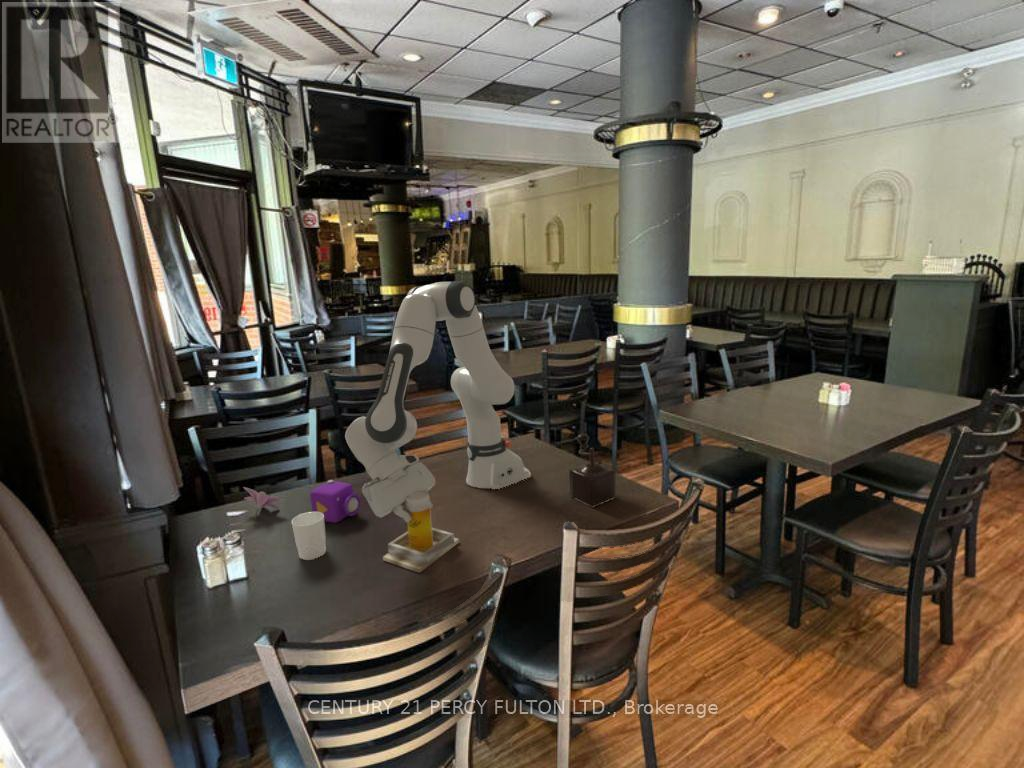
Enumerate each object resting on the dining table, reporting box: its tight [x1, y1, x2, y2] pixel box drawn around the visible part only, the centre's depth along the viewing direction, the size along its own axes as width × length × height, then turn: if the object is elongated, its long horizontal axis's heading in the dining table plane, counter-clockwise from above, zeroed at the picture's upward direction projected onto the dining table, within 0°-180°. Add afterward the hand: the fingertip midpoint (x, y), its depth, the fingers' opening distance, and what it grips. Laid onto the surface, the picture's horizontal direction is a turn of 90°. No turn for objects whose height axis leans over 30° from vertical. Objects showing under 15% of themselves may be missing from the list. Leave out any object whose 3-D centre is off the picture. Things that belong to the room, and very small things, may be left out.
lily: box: [242, 486, 284, 521], centre depth 160 cm, size 12×12×10 cm
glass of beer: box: [405, 490, 433, 553], centre depth 134 cm, size 6×6×15 cm
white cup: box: [290, 511, 327, 561], centre depth 136 cm, size 8×8×10 cm
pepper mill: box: [568, 433, 617, 506], centre depth 163 cm, size 16×11×18 cm
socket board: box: [382, 527, 460, 574], centre depth 136 cm, size 12×16×4 cm
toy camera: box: [309, 479, 361, 524], centre depth 156 cm, size 11×14×10 cm
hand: (420, 514), depth 133 cm, fingers closed on glass of beer, 6 cm apart
